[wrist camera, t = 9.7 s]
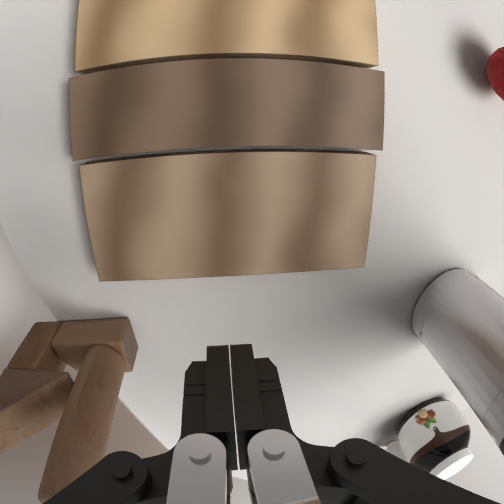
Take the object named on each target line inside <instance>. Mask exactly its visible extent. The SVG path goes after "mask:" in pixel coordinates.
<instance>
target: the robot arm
mask: <svg viewBox="0 0 504 504" xmlns="http://www.w3.org/2000/svg"><path fill="white" fill-rule="evenodd" d="M412 327H413V330H414V332H415V334H416V335H417V336H418V338H419V339H420V340H421V341H422V343H423V344H424V345H425V346H426V348H427V349H428V350H429V352H430V353H431V354H432V356H433V357H434V358H435V360H436V361H437V362H438V363H439V365H440V366H441V367H442V369H443V370H444V371H445V373H446V374H447V375H448V377H449V378H450V379H451V381H452V382H453V383H454V385H455V386H456V387H457V389H458V390H459V391H460V393H461V394H462V396H463V397H464V398H465V400H466V401H467V402H468V404H469V405H470V407H471V408H472V409H473V411H474V412H475V414H476V415H477V417H478V418H479V419H480V421H481V422H482V424H483V425H484V426H485V428H486V429H487V431H488V432H489V434H490V435H491V437H492V438H493V440H494V441H495V443H496V444H497V446H498V447H499V448H500V450H501V452H502V454H503V455H504V298H503V297H502V296H501V295H499V294H498V293H497V292H496V291H495V290H493V289H492V288H491V287H490V286H488V285H487V284H486V283H485V282H483V281H482V280H481V279H479V278H475V277H474V276H473V275H472V274H470V273H469V272H467V271H466V270H463V269H453V270H450V271H447V272H445V273H443V274H442V275H440V276H439V277H437V278H436V279H435V280H434V281H433V282H432V283H431V284H430V285H429V286H428V287H427V288H426V289H425V291H424V292H423V293H422V295H421V296H420V298H419V300H418V302H417V304H416V306H415V309H414V312H413V317H412ZM230 353H231V371H232V387H233V399H234V411H235V423H236V434H237V445H238V455H239V465H240V470H242V469H247V477H248V489H249V495H250V500H251V504H500V503H497V502H494V501H492V500H490V499H487V498H484V497H482V496H480V495H477V494H475V493H472V492H470V491H468V490H465V489H463V488H461V487H459V486H456V485H454V484H452V483H450V482H447V481H445V480H443V479H441V478H439V477H437V476H435V475H432V474H430V473H428V472H426V471H424V470H422V469H420V468H418V467H416V466H414V465H412V464H410V463H408V462H406V461H404V460H402V459H400V458H399V457H397V456H395V455H393V454H391V453H389V452H387V451H385V450H384V449H382V448H380V447H378V446H376V445H374V444H373V443H371V442H369V441H367V440H364V439H359V438H352V439H347V440H344V441H342V442H340V443H339V444H337V445H336V446H335V447H327V446H317V445H312V444H308V443H306V442H304V441H302V440H301V439H299V438H298V437H297V436H296V435H295V434H294V433H293V431H292V429H291V426H290V422H289V417H288V413H287V409H286V405H285V401H284V396H283V392H282V388H281V384H280V379H279V375H278V371H277V367H276V366H275V365H274V364H273V363H272V362H271V360H270V359H269V358H256V359H254V356H253V349H252V344H240V345H230ZM183 395H184V397H183V409H182V425H181V436H180V439H179V441H178V443H177V444H176V445H175V446H174V447H173V448H172V449H171V450H169V451H168V452H166V453H164V454H160V455H157V456H153V457H149V458H144V459H141V458H140V457H139V456H137V455H136V454H134V453H131V452H127V451H118V452H113V453H111V454H108V455H107V456H105V457H104V458H103V459H102V460H100V461H99V462H98V463H96V464H95V465H94V466H93V467H91V468H90V469H89V470H87V471H86V472H85V473H83V474H82V475H81V476H80V477H78V478H77V479H76V480H74V481H73V482H72V483H70V484H69V485H68V486H66V487H65V488H63V489H62V490H61V491H59V492H58V493H57V494H55V495H54V496H52V497H51V498H50V499H48V500H47V501H46V502H44V503H43V504H231V491H232V488H233V484H232V472H231V470H238V466H237V453H236V440H235V427H234V415H233V403H232V390H231V377H230V363H229V349H228V345H222V346H207V361H192V363H191V364H190V366H189V367H188V369H187V370H186V372H185V381H184V394H183Z"/></svg>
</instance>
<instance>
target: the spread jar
mask: <svg viewBox="0 0 504 504" xmlns="http://www.w3.org/2000/svg"><path fill="white" fill-rule="evenodd" d="M398 439H399V440H397V441H393V442H391V443H389V444H388V446H387V448H386V450H385V451H387V452H389V453H391V454H393V455H395V456H397V457H399V458H400V459H402V460H404V461H406V462H408V463H410V464H412V465H414V466H416V467H418V468H420V469H422V470H424V471H426V472H428V473H430V474H432V475H435V476H437V477H439V478H441V479H443V480H445V479H447V478H449V477H450V476H452V475H454V474H455V473H457V472H458V471H460V470H461V469H462V468H463V467H464V466H465V465H467V464H468V463H469V462H470V460H471V459H472V458H473V454H472V452H471V451H470V449H469V448H468V444H469V441H470V427H469V425H468V423H467V421H466V419H465V417H464V416H463V414H462V413H461V411H460V410H459V409H458V407H457V406H456V405H455V404H454V403H453V402H451V401H449V400H445V399H433V400H429V401H426V402H424V403H422V404H420V405H419V406H417V407H416V408H414V409H413V410H412V411H411V412H410V413H409V414H408V415H407V416H406V417H405V418H404V420H403V422H402V424H401V426H400V429H399V434H398Z"/></svg>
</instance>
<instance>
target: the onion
mask: <svg viewBox="0 0 504 504" xmlns="http://www.w3.org/2000/svg"><path fill="white" fill-rule="evenodd" d="M487 77H488V80H489V83H490V85H491V86H492V88H493V89H494V91H495V93H496V94H497V95H498V96H499V97H501V98H502V99H503V100H504V47H502V48H499V49H497V50H496V51H495V52H494V53H493V54H492V55H491V56H490V57H489V60H488V63H487Z"/></svg>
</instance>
